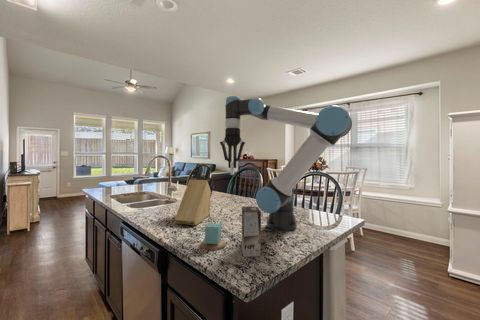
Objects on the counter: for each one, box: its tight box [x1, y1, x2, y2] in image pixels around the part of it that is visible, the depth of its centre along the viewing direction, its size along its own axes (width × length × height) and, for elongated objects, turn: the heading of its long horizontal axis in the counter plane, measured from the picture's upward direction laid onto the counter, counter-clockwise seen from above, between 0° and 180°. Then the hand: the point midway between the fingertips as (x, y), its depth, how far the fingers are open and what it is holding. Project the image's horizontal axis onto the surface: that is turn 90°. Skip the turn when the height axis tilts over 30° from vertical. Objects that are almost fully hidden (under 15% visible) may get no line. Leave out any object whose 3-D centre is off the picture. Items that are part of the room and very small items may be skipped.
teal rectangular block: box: [204, 222, 222, 244], centre depth 92 cm, size 5×5×7 cm
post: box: [200, 239, 227, 251], centre depth 92 cm, size 10×10×8 cm
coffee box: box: [241, 206, 262, 258], centre depth 86 cm, size 9×6×16 cm
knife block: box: [174, 163, 215, 226], centre depth 132 cm, size 11×35×31 cm, turn 170°
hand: (232, 174), depth 117 cm, fingers closed
